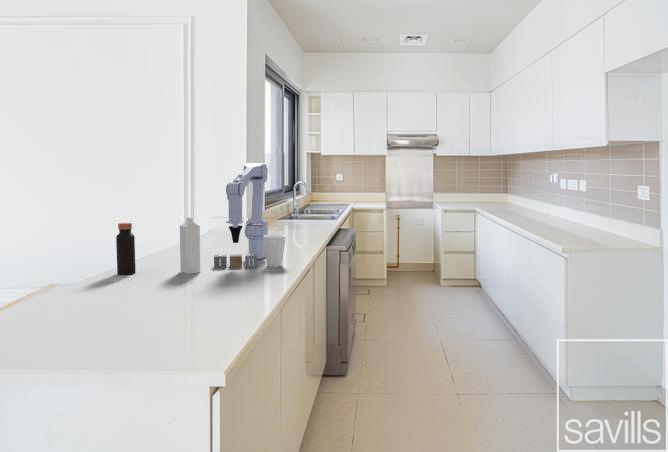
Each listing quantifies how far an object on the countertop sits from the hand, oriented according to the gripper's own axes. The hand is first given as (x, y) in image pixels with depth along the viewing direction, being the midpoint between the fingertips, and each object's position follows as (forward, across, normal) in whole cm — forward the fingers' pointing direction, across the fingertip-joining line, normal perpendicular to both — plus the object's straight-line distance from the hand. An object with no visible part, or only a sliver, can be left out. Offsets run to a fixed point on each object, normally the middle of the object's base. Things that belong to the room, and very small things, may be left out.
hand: (235, 242), depth 240 cm
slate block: (+10, 0, +6) cm, 12 cm away
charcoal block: (+10, 0, -6) cm, 12 cm away
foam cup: (+10, -1, +16) cm, 19 cm away
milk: (+10, +11, -18) cm, 23 cm away
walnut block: (+10, 0, 0) cm, 10 cm away
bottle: (+10, +12, -42) cm, 45 cm away
